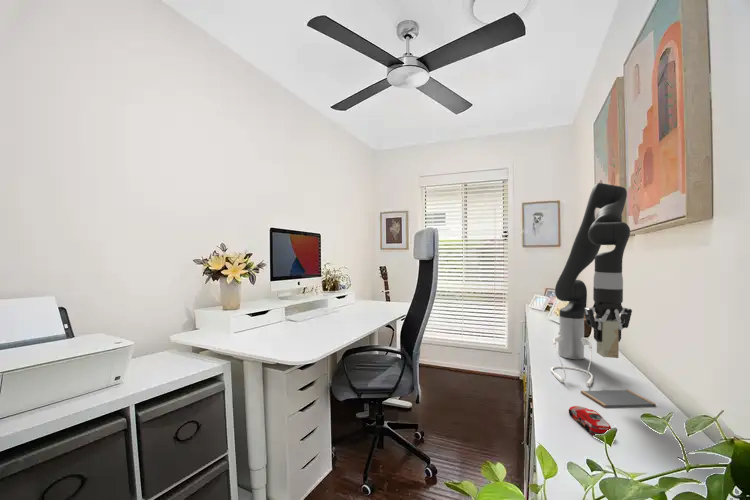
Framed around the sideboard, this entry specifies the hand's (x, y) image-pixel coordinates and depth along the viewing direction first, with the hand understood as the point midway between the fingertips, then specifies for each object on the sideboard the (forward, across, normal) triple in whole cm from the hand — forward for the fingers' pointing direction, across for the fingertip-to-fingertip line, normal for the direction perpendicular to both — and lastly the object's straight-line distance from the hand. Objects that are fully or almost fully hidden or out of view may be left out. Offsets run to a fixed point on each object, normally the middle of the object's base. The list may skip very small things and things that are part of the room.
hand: (607, 341), depth 104 cm
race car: (+18, +16, +15) cm, 29 cm away
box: (+5, 0, 0) cm, 5 cm away
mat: (+18, -3, +1) cm, 18 cm away
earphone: (+18, 0, -17) cm, 25 cm away
